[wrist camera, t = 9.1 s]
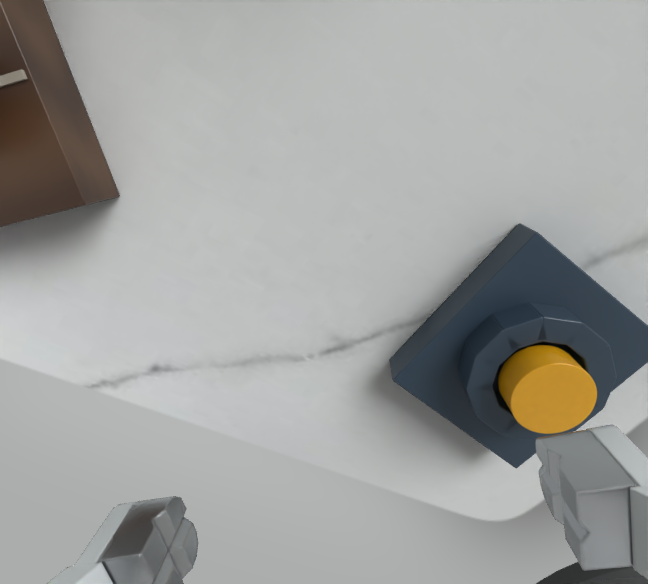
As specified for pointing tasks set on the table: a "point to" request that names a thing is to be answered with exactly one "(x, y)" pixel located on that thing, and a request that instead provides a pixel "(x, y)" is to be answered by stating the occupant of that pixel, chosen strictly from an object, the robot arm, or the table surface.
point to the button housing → (517, 339)
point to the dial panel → (43, 123)
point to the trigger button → (546, 389)
